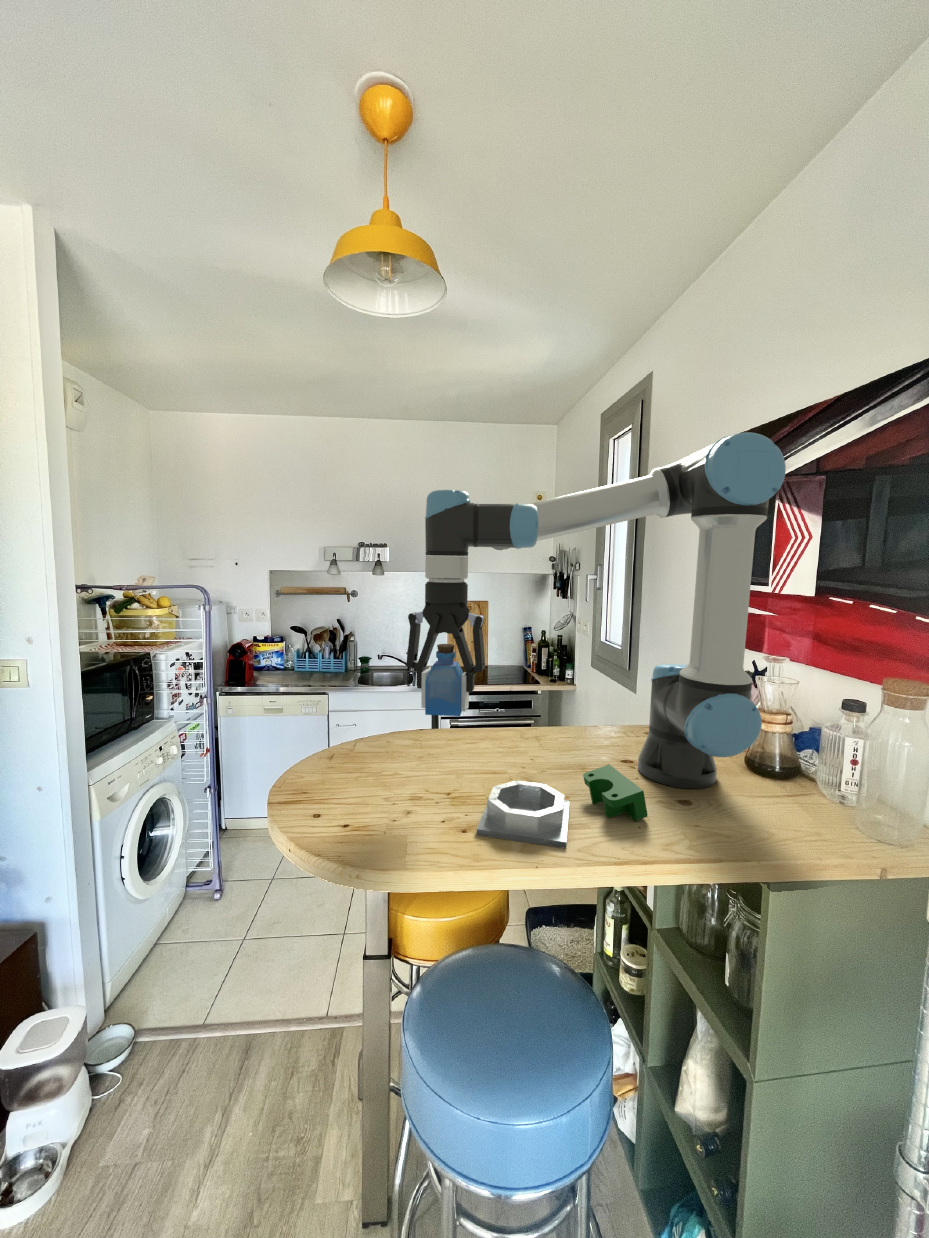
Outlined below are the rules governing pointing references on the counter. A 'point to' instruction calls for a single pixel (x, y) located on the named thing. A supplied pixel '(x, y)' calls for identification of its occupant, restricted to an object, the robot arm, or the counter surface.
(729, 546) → the robot arm
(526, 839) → the flange
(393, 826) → the counter surface
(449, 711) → the perfume bottle
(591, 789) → the clamp
